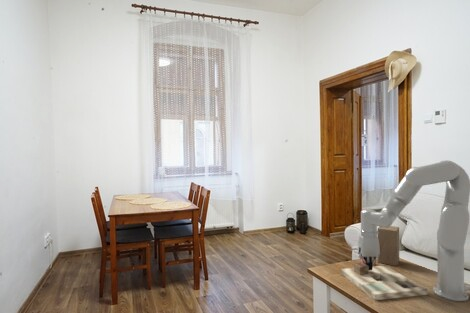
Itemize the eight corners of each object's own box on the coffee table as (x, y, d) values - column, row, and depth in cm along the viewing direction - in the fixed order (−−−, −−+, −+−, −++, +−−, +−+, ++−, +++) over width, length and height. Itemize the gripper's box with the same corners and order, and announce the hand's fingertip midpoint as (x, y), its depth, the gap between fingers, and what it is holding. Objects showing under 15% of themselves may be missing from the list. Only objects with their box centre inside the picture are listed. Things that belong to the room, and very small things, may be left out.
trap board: (384, 269, 157) (384, 265, 157) (427, 294, 129) (427, 289, 129) (340, 273, 153) (340, 269, 153) (374, 300, 125) (374, 294, 125)
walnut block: (362, 270, 151) (362, 262, 151) (368, 274, 146) (368, 266, 146) (353, 271, 150) (353, 263, 150) (359, 275, 145) (359, 267, 145)
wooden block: (380, 257, 176) (380, 224, 175) (399, 260, 170) (399, 226, 169) (377, 262, 167) (377, 228, 167) (397, 266, 162) (397, 230, 161)
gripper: (377, 231, 154) (377, 265, 154) (351, 232, 151) (351, 267, 151) (386, 235, 146) (387, 271, 146) (359, 236, 144) (359, 273, 144)
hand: (368, 269), depth 149 cm, fingers closed
